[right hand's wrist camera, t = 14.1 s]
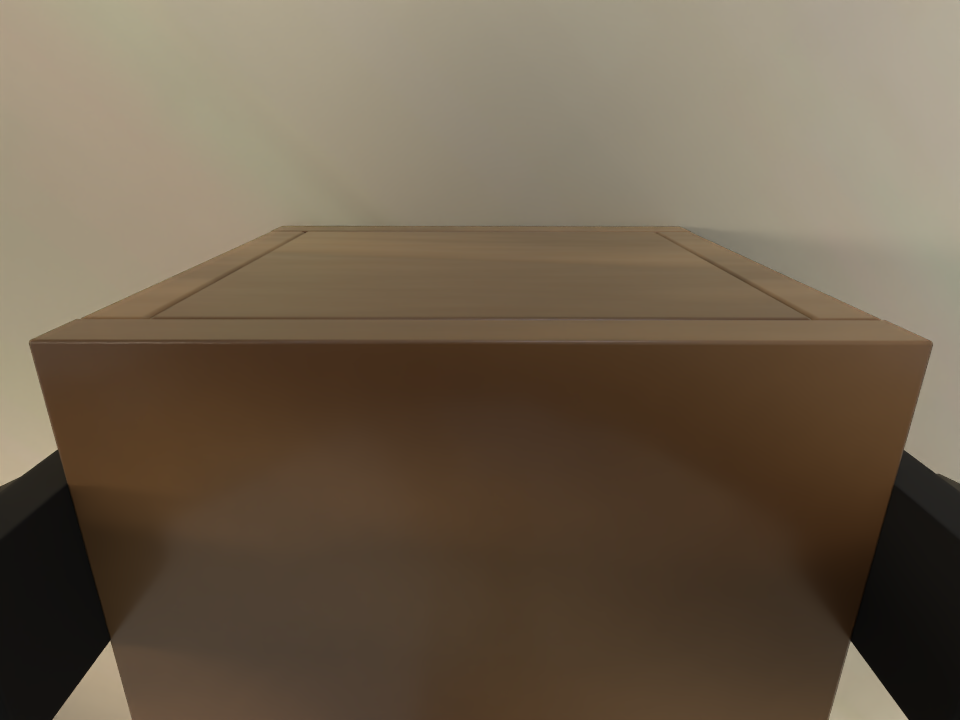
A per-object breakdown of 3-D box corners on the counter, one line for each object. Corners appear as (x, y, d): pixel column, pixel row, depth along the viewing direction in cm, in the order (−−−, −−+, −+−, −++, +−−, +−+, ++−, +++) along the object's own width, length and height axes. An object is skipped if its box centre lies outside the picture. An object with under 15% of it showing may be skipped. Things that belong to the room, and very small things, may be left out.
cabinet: (623, 720, 23) (720, 1114, 14) (336, 719, 23) (238, 1112, 14) (681, 226, 17) (935, 341, 7) (280, 225, 17) (25, 340, 7)
